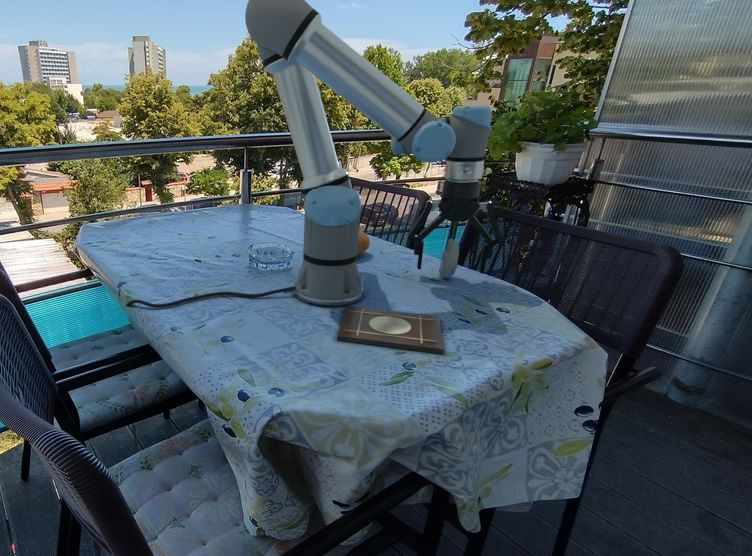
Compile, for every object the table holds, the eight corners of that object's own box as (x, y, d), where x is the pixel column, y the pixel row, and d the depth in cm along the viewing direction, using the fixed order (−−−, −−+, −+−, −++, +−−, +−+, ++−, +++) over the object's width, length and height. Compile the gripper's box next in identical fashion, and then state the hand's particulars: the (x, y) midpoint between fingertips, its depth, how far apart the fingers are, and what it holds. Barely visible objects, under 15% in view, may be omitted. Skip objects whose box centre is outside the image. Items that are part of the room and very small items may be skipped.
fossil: (456, 283, 110) (463, 242, 106) (441, 282, 111) (447, 242, 107) (450, 274, 115) (457, 235, 111) (435, 274, 116) (441, 235, 112)
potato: (324, 255, 133) (325, 229, 130) (351, 247, 138) (352, 223, 135) (349, 263, 126) (351, 236, 123) (376, 254, 131) (379, 229, 128)
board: (336, 340, 86) (337, 334, 86) (345, 310, 98) (346, 305, 98) (442, 354, 80) (443, 348, 80) (438, 320, 92) (439, 315, 92)
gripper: (402, 182, 105) (394, 271, 113) (530, 182, 96) (511, 278, 104) (402, 177, 111) (394, 261, 119) (523, 177, 103) (505, 267, 111)
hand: (449, 269), depth 112 cm, fingers open, 13 cm apart
